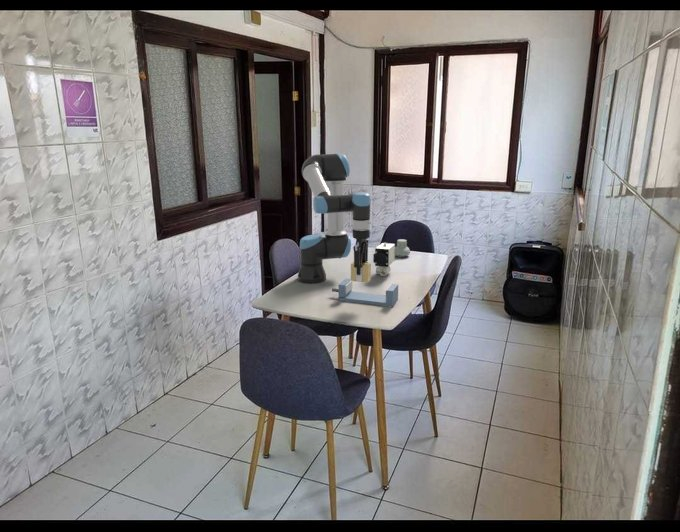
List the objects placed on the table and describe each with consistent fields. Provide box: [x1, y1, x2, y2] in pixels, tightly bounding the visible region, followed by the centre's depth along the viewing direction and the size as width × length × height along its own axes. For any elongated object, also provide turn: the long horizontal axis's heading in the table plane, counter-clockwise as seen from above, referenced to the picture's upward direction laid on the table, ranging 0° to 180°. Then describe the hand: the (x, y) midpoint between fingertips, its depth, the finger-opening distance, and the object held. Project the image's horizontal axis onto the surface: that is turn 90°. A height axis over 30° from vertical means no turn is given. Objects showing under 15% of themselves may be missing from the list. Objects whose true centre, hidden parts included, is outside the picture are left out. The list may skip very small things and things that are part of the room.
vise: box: [338, 283, 399, 308], centre depth 228 cm, size 26×10×8 cm, turn 69°
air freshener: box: [395, 238, 411, 258], centre depth 302 cm, size 11×8×10 cm
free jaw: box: [331, 278, 353, 298], centre depth 232 cm, size 9×10×6 cm
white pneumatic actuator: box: [373, 242, 396, 277], centre depth 264 cm, size 18×8×18 cm, turn 159°
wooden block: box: [350, 261, 372, 284], centre depth 219 cm, size 8×4×8 cm, turn 68°
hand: (360, 279), depth 220 cm, fingers closed on wooden block, 4 cm apart
